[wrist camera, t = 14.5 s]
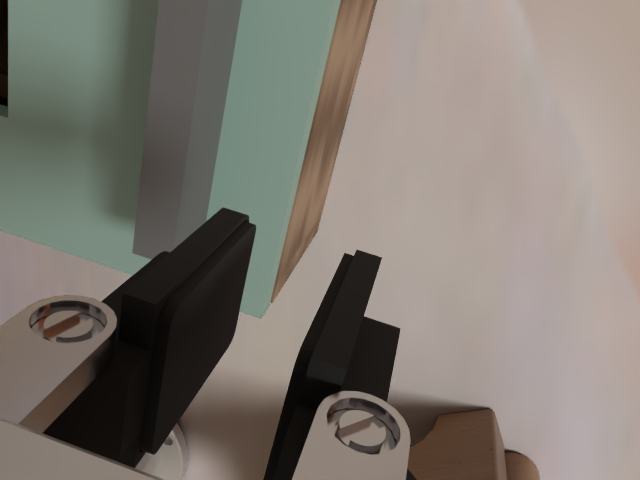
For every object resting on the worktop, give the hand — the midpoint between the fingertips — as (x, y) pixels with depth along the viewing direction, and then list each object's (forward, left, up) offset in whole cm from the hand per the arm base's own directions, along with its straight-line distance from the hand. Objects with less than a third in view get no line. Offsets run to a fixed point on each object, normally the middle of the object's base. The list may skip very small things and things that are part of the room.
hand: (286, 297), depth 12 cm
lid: (0, +12, -12) cm, 17 cm away
